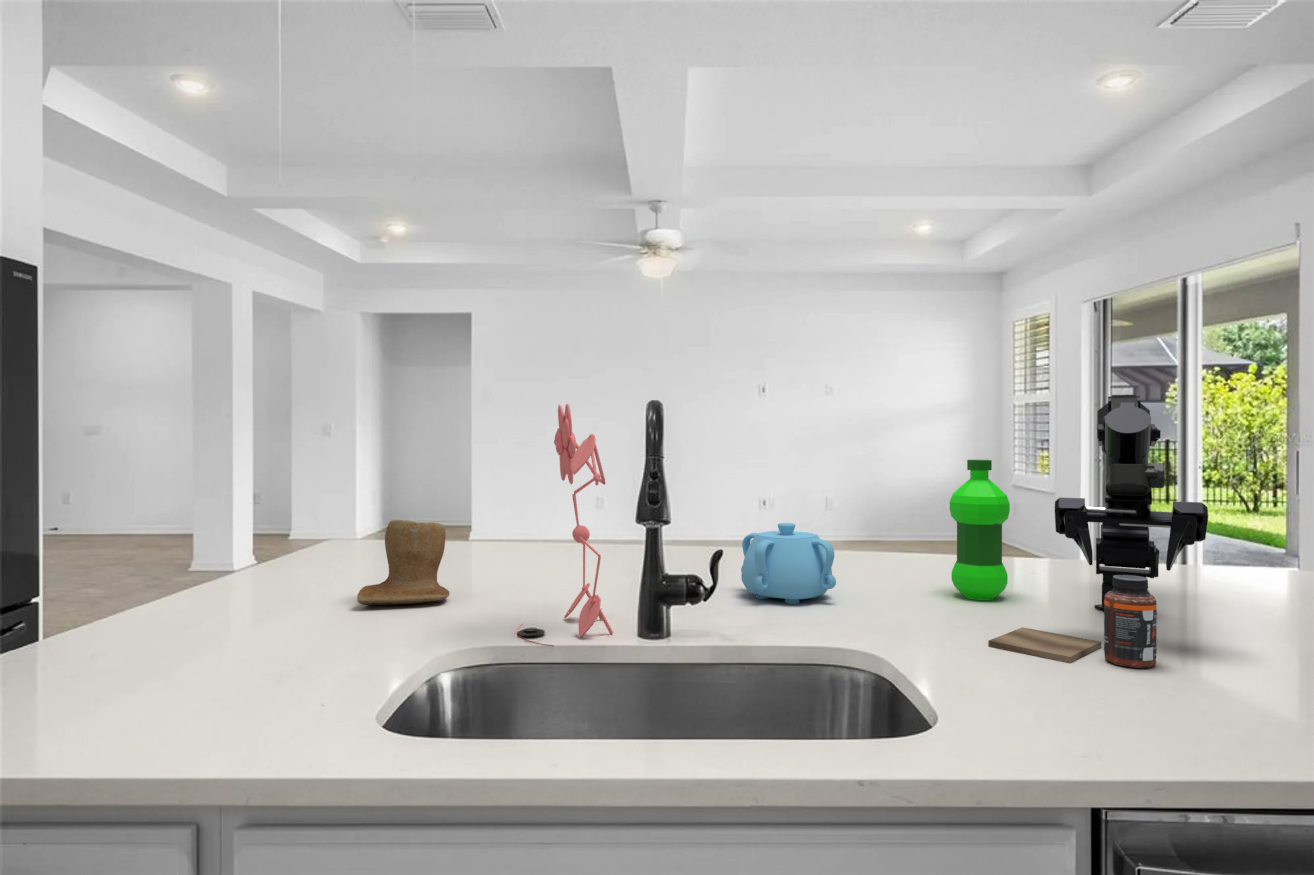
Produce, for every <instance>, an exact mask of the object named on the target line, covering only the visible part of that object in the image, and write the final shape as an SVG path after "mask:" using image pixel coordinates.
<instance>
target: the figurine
mask: <svg viewBox="0 0 1314 875" xmlns="http://www.w3.org/2000/svg"><path fill="white" fill-rule="evenodd" d="M557 420H558V428H557V430H556V432H555V435H554V441H553V444H554V446H555V451H556V453H557V455H558V456H559V471H560V472H559V473H560V478H561V480H562V481H563V482H564V481H565V480H566V478H567V479H568V483H569V484H570V485H573V483H574V476H575V475H576V474H577V473H578V472H579V471H580V470H581V469H582V468H583V467H584V466H585V465H586V466H587V467H588V469H589V470H590V472H591V473H592V475H593V477H592V479H590V480H588V481H587V482H585V483H584V484H582V485H581V486H579V487H578V488H577V489H575V490H573V493H572V494H571V496H572V502H573V509H574V515H575V520H576V521H575V522H576V526H575V527H574V529H573V530H572V533H571V534H572V538H573V540H574V541H575V542H576V543H578V544H581V545H582V587H581V591H580V592H579V594H577V596H576V598H575V599H574V600H573V602H572V604H571V605H570V607H569V609H568V610H567V611H566V613H565V615H564V617H563V619H567V618H568V617H569V616H570V615H571V613H573V611H574V610H575V609H576V607H577V606H578V605H579V604H580V601H582V599H583V597H584V596H585V595H586V596H587V597H588V600H587V601H586V602H585V604H584V605H583V607H582V608H581V611H580V613H579V617H578V622H577V623H578V625H577V626H578V635H579V638H583V636H584V635H586V633H587V632H588V631H589V630H590V629H591V628H592V627H593V625H594V624H595V622H596V621H597V619H598V617H599V620H600V621H602V622H603V623H604V625H605V627H606V629H607V631H608V632H609V635H612V634H614V631H613V629H612V627H611V625H610V623H609V622H608V620H607V618H606V616H605V614H604V613H603V611H602V608H601V605H602V604H601V601H602V599H601V598H600V596H599V594H596V589H597V584H598V577H599V571H600V565H601V561H602V560H601V559H602V558H601V554H600V553H599V552H598V551H597V550H596V549H594V548H593V546H591V545H590V543H588V542H587V541H588V540H589V539H590V535H591V534H590V533H591V532H590V530H589V528H588V527H586V526H585V525H582V524H581V525H580V522H579V521H580V520H579V514H578V513H579V512H578V504H577V496H576V495H577V494H578V493H579V492H581V491H582V490H583V489H584V488H586V487H588V486H589V485H591V484H592V483H593V482H595V486H598V485H599V483H601V484H602V485H606V484H607V483H606V477H605V474H604V470H603V466H602V462H601V460H600V455H599V451H598V448H597V444H596V441H597V440H596V435H595V434H593V433H590V434H589V435H588V437H586V438H585V439H584V440H583V441H582V442H581V444H578V443H577V441H576V440H577V439H576V437H575V436H576V435H575V434H574V432H573V423H572V422H573V421H572V420H573V419H572V414H571V408H570V405H569V403H566V404H565V406H564V408H563V406H562V405H561V404H559V403H558V407H557ZM590 458H591V463H592V464H591V463H590V461H589V459H590ZM595 460H596V461H595ZM596 465H597V466H596ZM597 468H598V471H599V472H598V471H597ZM586 546H587V547H588V549H590V550H591V551H592V552H593V553H594V554H595V555H596V556H597V563H596V569H595V570H596V571H595V576H594V577H595V578H594V585H593V591H592V594H591V593H590V591H589V588H590V586H591V583H590V582H587V583H586ZM521 626H524V623H522V624H521V625H519V626H518V628H517V631H518V630H519V628H521ZM513 634H514V635H516V633H515V632H513ZM517 635H518V637H520V639H522V640H525V641H524V643H530V644H532V643H533V644H536V645H542V646H548V647H555V645H553V644H545V643H540V642H535V641H532V640H528V639H527V638H524V637H522V636H521V635H520V634H519V633H517Z"/></svg>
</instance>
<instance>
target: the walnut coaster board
mask: <svg viewBox="0 0 1314 875" xmlns="http://www.w3.org/2000/svg"><path fill="white" fill-rule="evenodd" d="M987 642H988V645H987V646H988V647H989V648H995V649H1000V650H1006V651H1010V652H1015V653H1021V654H1025V655H1030V656H1033V657H1039V658H1043V659H1044V658H1045V659H1048V660H1053V661H1054V660H1055V661H1059V662H1064V663H1068V664H1071V663H1073V662H1075V661H1077V660H1080V658H1083V657H1085V656H1086V655H1089V654H1091V653H1093V652H1095V651H1097V650H1099V649H1101V648H1102V641H1100V640H1095V639H1089V638H1085V637H1084V638H1083V637H1078V636H1074V635H1073V636H1072V635H1065V634H1060V633H1055V632H1049V631H1045V630H1038V629H1033V628H1028V627H1023V626H1022V627H1020V628H1017V629H1015V630H1012V631H1009V632H1007V633H1005V634H1002V635H999V636H997V637H994V638H991V639H988V640H987Z"/></svg>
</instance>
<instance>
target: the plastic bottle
mask: <svg viewBox="0 0 1314 875" xmlns="http://www.w3.org/2000/svg"><path fill="white" fill-rule="evenodd" d="M992 462H993V460H992V459H967V461H966V466H967V467H966V468H967V471H969V472H970V475H969V476H970V477H969V479H968V480H967V481H966V482H964V483H963V484H962V485H960V486H959V487H957V489H956V490H955V491H954V492H953V493H952V495H951V497H950V500H949V512H950V516H951V517H952V519H954V521H955V522H956V560H955V562H954V565H953V567H952V570H951V581H952V584H953V586H954V588H955V589H956V590H957V591H958V592H959V593H960V594H961V595H964V596H963V597H964V598H966V599H969V600H975V601H993V600H995V598H996V597H998V596H999V595H1000V594H1002V593H1003V592H1004V591H1005V590H1006V587H1007V585H1008V583H1009V582H1008V578H1009V577H1008V572H1007V570H1006V566H1005V565H1004V563H1003V523H1005V522H1006V521H1007V520H1008V519H1009V516H1010V511H1011V506H1010V505H1011V504H1010V500H1009V498H1008V495H1007V494H1006V493H1005V492H1004V490H1002V489H1001V488H1000V487H999V486H998V485H997V484H995V483H994V482H993V481H992V480H990V478H989V471H992V468H993V467H992V465H993V464H992Z"/></svg>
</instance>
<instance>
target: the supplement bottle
mask: <svg viewBox="0 0 1314 875" xmlns="http://www.w3.org/2000/svg"><path fill="white" fill-rule="evenodd" d="M1112 585H1113V586H1114V588H1113V590H1112V591H1109V592H1107V593H1106V595H1105V598H1104V610H1103V614H1104V615H1103V618H1104V619H1103V629H1104V630H1103V631H1104V632H1103V651H1104V658H1105V660H1106V661H1108V662H1109V663H1111V664H1114V665H1116V666H1121V667H1126V668H1134V669H1149V668H1152V667H1154V666H1155V665H1156V664H1157V650H1158V648H1157V644H1158V642H1157V641H1158V640H1157V637H1158V636H1157V634H1158V633H1157V624H1158V622H1157V621H1158V620H1157V617H1158V616H1157V598H1156V597H1155V596H1154V595H1153V594H1151V593H1150V591H1149V590H1148V589H1149V580H1148V577H1146V578H1145V577H1140V576H1133V575H1115V576H1113V583H1112Z"/></svg>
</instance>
